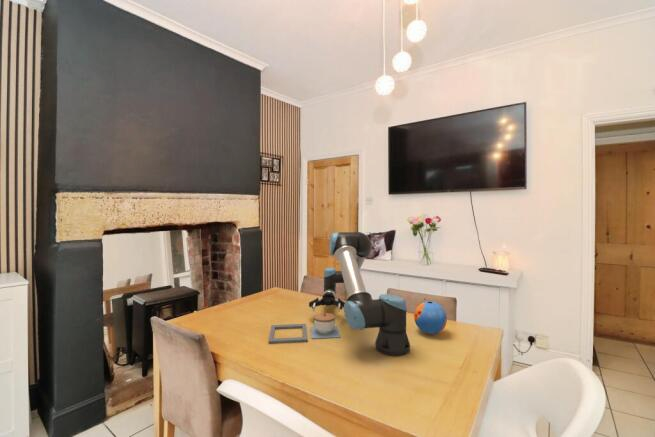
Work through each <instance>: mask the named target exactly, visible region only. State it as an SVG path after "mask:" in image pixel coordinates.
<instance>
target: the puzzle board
mask: <svg viewBox="0 0 655 437" xmlns="http://www.w3.org/2000/svg"><path fill="white" fill-rule="evenodd" d="M291 329H292V330H294V329H302V336H300V337H299V336H297V337H295V336H294V337H277V338H275V332H276V330H291ZM268 335H269V336H268V342H267V343H268V345H272V344H292V343H293V344H294V343H308V342H309V339H308V329H307V323H291V324H289V323H288V324H271V325H270V332H269V334H268Z"/></svg>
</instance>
